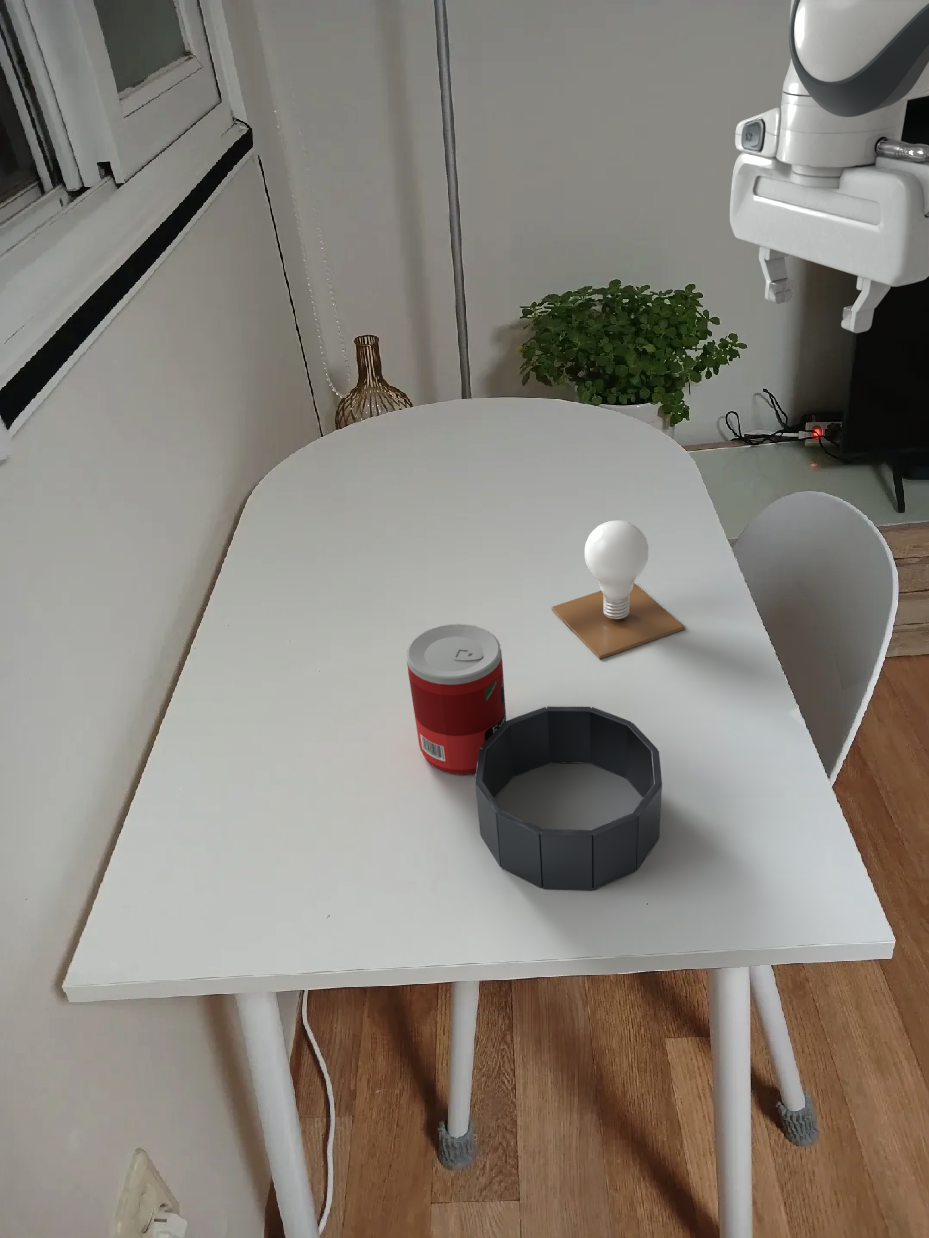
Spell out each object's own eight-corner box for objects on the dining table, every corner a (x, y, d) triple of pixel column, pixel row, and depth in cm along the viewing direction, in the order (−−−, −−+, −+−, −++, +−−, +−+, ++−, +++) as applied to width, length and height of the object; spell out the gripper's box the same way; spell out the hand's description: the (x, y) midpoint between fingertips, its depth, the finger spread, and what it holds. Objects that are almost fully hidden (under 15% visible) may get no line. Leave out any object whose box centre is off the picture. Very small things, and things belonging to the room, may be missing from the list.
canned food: (508, 775, 82) (501, 676, 76) (416, 779, 83) (402, 680, 76) (507, 717, 88) (501, 620, 82) (422, 720, 89) (409, 625, 83)
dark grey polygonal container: (693, 846, 74) (698, 792, 71) (531, 917, 70) (528, 862, 66) (599, 738, 85) (599, 686, 82) (454, 794, 81) (448, 741, 77)
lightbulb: (643, 598, 102) (645, 506, 95) (650, 632, 96) (653, 538, 90) (583, 601, 102) (581, 510, 96) (587, 636, 97) (586, 542, 91)
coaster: (684, 629, 97) (684, 626, 97) (599, 659, 94) (599, 656, 94) (631, 583, 105) (631, 580, 105) (551, 609, 102) (551, 606, 102)
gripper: (984, 141, 65) (941, 341, 73) (784, 113, 80) (767, 280, 88) (912, 155, 63) (877, 358, 71) (722, 124, 79) (710, 293, 87)
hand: (814, 314), depth 80 cm, fingers open, 8 cm apart
